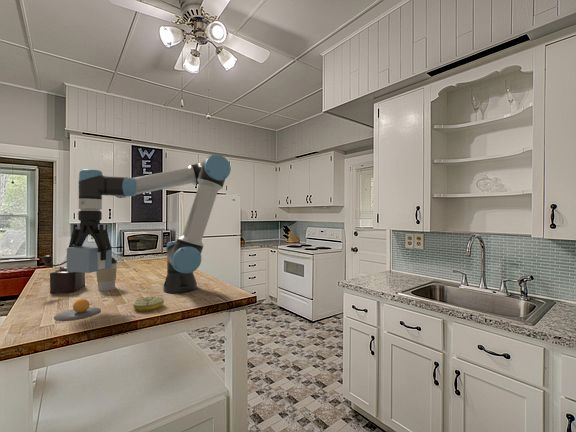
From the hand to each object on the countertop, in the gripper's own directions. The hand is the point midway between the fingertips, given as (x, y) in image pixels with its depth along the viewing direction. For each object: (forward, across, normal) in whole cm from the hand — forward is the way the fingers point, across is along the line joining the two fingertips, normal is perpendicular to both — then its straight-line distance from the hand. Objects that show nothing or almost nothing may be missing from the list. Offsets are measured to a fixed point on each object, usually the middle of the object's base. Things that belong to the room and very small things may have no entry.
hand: (89, 268), depth 116 cm
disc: (+16, +1, -6) cm, 17 cm away
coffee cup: (+16, -19, +27) cm, 36 cm away
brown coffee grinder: (+16, -34, +18) cm, 42 cm away
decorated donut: (+16, +22, +6) cm, 28 cm away
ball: (+13, +1, -4) cm, 14 cm away
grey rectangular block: (+1, 0, 0) cm, 1 cm away
